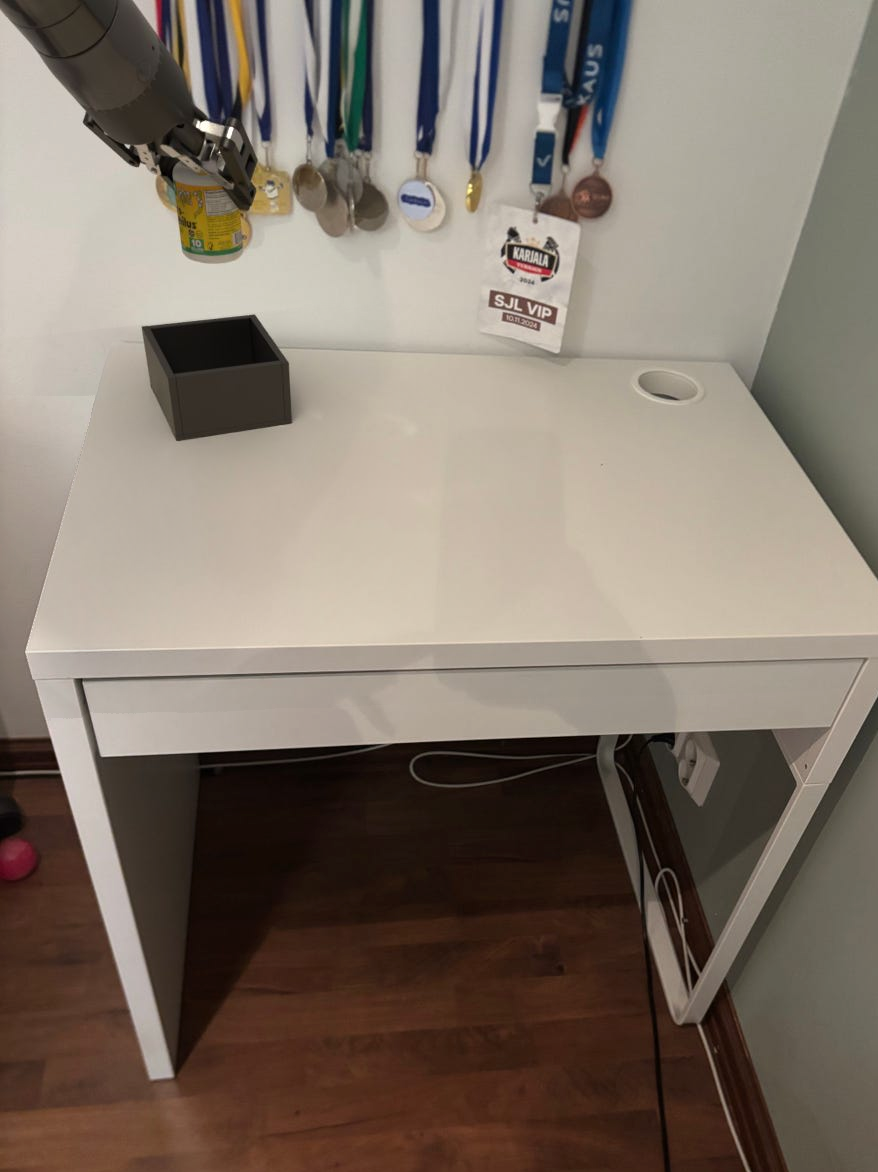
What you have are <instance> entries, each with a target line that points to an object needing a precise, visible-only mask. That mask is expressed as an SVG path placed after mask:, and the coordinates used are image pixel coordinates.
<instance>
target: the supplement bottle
mask: <svg viewBox="0 0 878 1172" xmlns="http://www.w3.org/2000/svg"><path fill="white" fill-rule="evenodd" d="M205 145H206V141H204V144H203V147H202V150H201V153H200V155H199V156H198V157H197V158H198V159H199V160H201V157H202V154H203V151H204V148H205ZM224 166H225V161H224V160H223V159H222V158H221V157H219V158H218V161H217V167H218V168H219V169H220V170H221V171H222V172H223V169H224ZM173 184H174V190H173V192H174V197H175V199H174V200H175V206H176V214H177V215H176V216H177V221H178V230H179V238H180V245H181V252H182V254H183V255H184V256H185V257H186V258H187V259H189V260H191V261H193V262H198V263H200V264H201V263H202V264H211V265H212V264H213V265H214V264H215V265H216V264H218V265H219V264H227V263H231V262H234V261H237V260H238V259H240V258H241V256H242V255H243V253H244V242H243V230H242V221H241V220H242V219H241V210H240V209H239V208H238V207H237V206H236V205H235V203H234V202H233V201H232V199H231V198H230V197H229V196H228V194H227V193H226V192H225V191H224V189H223V188H222V186H221V185H220V184H219V183H218V182H216V181H215V180H214V179H213V178H211V177H210V176H209V175H206V176H200V175H198V174H197V173H196V172H195V171H193V170H192V169H191V168H190V167H188V166H187V165H186V164H185V163H183V162H182V161H180V162H178V163H177V164H176V165H175V166H174V169H173Z"/></svg>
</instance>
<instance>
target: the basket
mask: <svg viewBox="0 0 878 1172" xmlns="http://www.w3.org/2000/svg"><path fill="white" fill-rule="evenodd" d="M141 331H142V339H143V346H144V352H145V357H146V366H147V371H148V377H149V383H150V389H151V390H152V392H153V394H154V396H155V399H156V400H157V403H158V405H159V407H160V409H161V411H162V413H163V416H164V417H165V419H166V421H167V423H168V426H169V428H170V430H171V432H172V434H173V437H174V438H175V440H176V441H184V440H191V439H197V438H203V437H210V436H211V437H212V436H218V435H223V434H229V433H236V432H242V431H249V430H256V429H262V428H267V427H277V426H282V425H288V424H292V423H293V418H292V417H293V416H292V398H291V397H292V396H291V377H290V362H289V360H288V359H287V358H286V356H285V355H284V353H283V352H282V351H281V349H280V348H279V346H278V345H277V344H276V342H275V340H274V339H273V338H272V337H271V335H270V333H269V332H268V331H267V329H266V328H265V326H264V325H263V323H262V322H261V321H260V320H259V318H258V316H257V315H256V314H255V313H253V314H245V315H236V316H235V315H234V316H226V317H218V318H209V319H207V318H206V319H199V320H190V321H181V322H179V321H178V322H170V323H163V324H152V325H142V326H141Z"/></svg>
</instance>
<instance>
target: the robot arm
mask: <svg viewBox="0 0 878 1172" xmlns="http://www.w3.org/2000/svg"><path fill="white" fill-rule="evenodd" d="M0 11H1V13H2V14H3V15H4V16H5V17H6V18H7V19H8V20H9V22H11V24H12V25H13V26H14V27H15V28H16V30H17V31H19V33H20V34H21V35H22V36H23V37H24V38H25V39H26V41H28V43H29V44H30V45H31V46H32V48H33V49H34V50H35V51H36V52H37V54H38V55H39V57H40V58H41V60H42V62H43V63H44V65H45V66H46V67H47V68H48V70H49V71H50V73H51V74H52V75H53V77H54V78H55V79H56V80H57V81H58V82H59V83H60V84H61V86H63V88H64V89H65V90H66V91H67V92H68V93H69V94H70V95H71V96H72V97H73V99H74V100H75V101H76V102H77V103H78V104H79V105H80V106H81V108H82V109H83V110H84V111H85V112H84V113H85V114H84V116H83V118H82V119H83V120H82V124H83V125H84V126H85V127H86V128H87V129H88V130H89V131H91V132H92V133H93V134H94V135H95V136H96V137H97V138H99V139H100V140H101V141H102V142H103V143H104V144H105V145H106V146H107V147H109V149H111V150H112V151H113V152H114V153H115V154H116V155H118V156H119V157H120V158H121V159H122V161H124V162H126V164H128V165H129V166H131V167H133V168H140V166H141V164H142V165H145V166H146V169H147V170H148V171H149V172H150V173H151V174H153V175H156V176H160V177H161V179H162V180H163V181H164V182H165V183H166V184H167V185H168V187H169V188H170V189H172V191H174V184H173V169H174V166H175V165H176V164H177V163H178V162H180V161H182V162H183V163H185V164H186V165H187V166H188V167H190V168H191V169H192V170H193V171H195V172H196V173H197V174H198V175H200V176H206V175H209V176H210V177H211V178H213V179H214V180H215V181H216V182H218V183H219V184H220V185H221V186H222V188H223V189H224V191H225V192H226V193H227V194H228V196H229V197H230V198H231V199H232V201H233V202H234V203H235V205H236V206H237V207H238V208H239V209H240V211H245V212H248V211H250V209H251V207H253V204H254V201H255V198H256V194H257V193H258V192H257V187H256V186H255V185H254V183H253V182H252V179H253V176H254V173H255V170H256V167H257V164H258V161H259V159H258V157H257V154H256V152H255V150H254V147H253V145H252V143H251V140H250V138H249V136H248V133H247V131H246V129H245V126H244V124H243V122H241V121H240V120H239V119H238V118H236V117H234V116H233V117H232V116H229V117H227V119H226V123H225V125H223V124H220V123H216V122H213V121H210V120H209V118H208V116H207V114H206V113H205V112H204V111H202V110H201V109H200V108H198V107H197V105H195V104H194V103H193V102H192V100H191V96H190V93H189V92H190V91H189V88H188V84H187V80H186V76H185V74H184V71H183V70H182V67H181V66H180V65H179V64H178V61H177V60H176V59H175V57H174V56H173V55H172V54H171V52H170V51H169V49H168V48H167V46H166V44H165V43H164V42H163V40H162V39H161V38H160V36H159V35H158V34H157V32H156V31H155V29H154V27H152V25H151V24H150V22H149V21H148V19H147V18H146V17H145V15H144V14H143V13H142V11H141V10H140V8H139V7H138V5H137V4H136V3H135V1H134V0H0ZM204 141H206V145H205V148H204V151H203V154H202V157H201V160H199V159H198V158H197V157H198V156H199V155H200V153H201V150H202V147H203V144H204ZM127 146H129V147H127ZM219 157H221V158H222V159H223V160H224V161H225V166H224V169H223V172H222V171H221V170H220V169H219V168H218V167H217V161H218V158H219Z"/></svg>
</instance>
